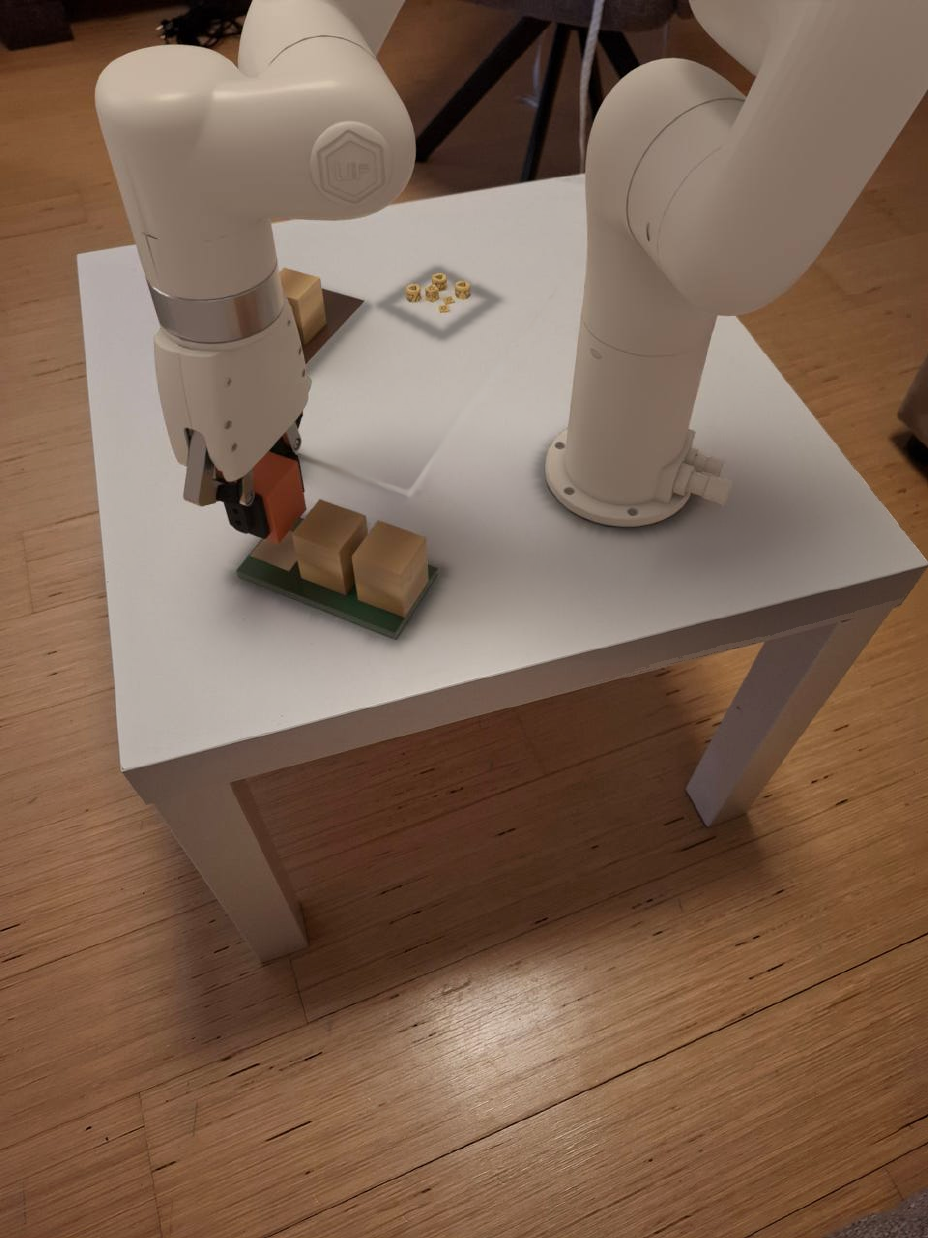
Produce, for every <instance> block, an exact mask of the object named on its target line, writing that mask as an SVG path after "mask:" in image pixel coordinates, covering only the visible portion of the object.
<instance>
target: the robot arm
mask: <svg viewBox="0 0 928 1238" xmlns="http://www.w3.org/2000/svg"><path fill="white" fill-rule="evenodd" d="M405 2H406V0H251V4H250V6H249V8H248V11H247V13H246V17H245V20H244V23H243V27H242V30H241V35H240V39H239V45H238V46H239V47H238V53H237V66H236V65H235V64H234V63H233V61H231V59H229V58H227V57H226V56H224V55H223V54H222V53H219V52H217V51H216V50H213V49H210V48H206V47H203V46H198V45H191V44H190V45H189V44H160V45H154V46H149V47H144V48H140V49H136V50H133V51H131V52H128V53H126V54H124V55H121V56H119V57H117V58H115V59H113V60H112V61H111V62H110V63H109V64H107V65H106V66H105V68H104V69H103V70H102V71H101V73H100V74H99V76H98V78H97V81H96V85H95V88H94V106H95V111H96V114H97V118H98V122H99V123H98V124H99V126H100V130H101V134H102V136H103V140H104V143H105V146H106V150H107V153H108V156H109V160H110V163H111V167H112V170H113V173H114V174H113V175H114V177H115V180H116V184H117V186H118V190H119V195H120V196H121V201H122V203H123V208H124V210H125V214H126V217H127V220H128V223H129V228H130V230H131V233H132V237H133V240H134V243H135V247H136V251H137V253H138V257H139V261H140V264H141V267H142V270H143V274H144V278H145V280H146V281H145V282H146V285H147V288H148V290H149V294H150V298H151V301H152V303H153V308H154V311H155V314H156V317H157V320H158V324H159V327H160V328H159V329H158V330H157V331H156V333H155V334H154V335H153V358H154V369H155V370H154V371H155V378H156V384H157V391H158V396H159V401H160V406H161V410H162V415H163V419H164V423H165V426H166V431H167V435H168V438H169V441H170V445H171V449H172V452H173V455H174V457H175V459H176V461H177V463H178V464H179V465H182V466H184V467H186V472H185V479H184V486H183V494H182V498H183V500H184V501H186V502H188V503H190V504H193V505H195V506H199V507H206V506H209V505H213V504H216V503H217V502H221V503H223V505H224V509H225V512H226V516H227V519H228V523H229V526H231V527H232V528H233V529H234V530H235V531H237V532H240V533H241V534H244V535H248V534H249V535H250V536H251V535H252V536H254V537H257V538H259V539H261V540H262V539H266V538H267V537H268V536H269V534H270V530H269V526H268V522H267V517H266V513H265V509H264V505H263V501H262V497H260V496H258V495H256V494H255V488H254V476H253V467H254V466H255V465H256V464H257V463H258V462H259V461H260V459H261V458H262V457H263V456H264V455H265V454H266V453H267V452H268V451H270V452H272V453H275V454H278V455H281V456H284V457H287V458H289V459H292V460H295V461H297V462H298V466H299V471H300V476H301V482H302V487H303V493H304V494H305V492H306V490H305V484H304V479H303V473H302V468H301V462H300V457H299V454H298V451H299V450H300V448H301V446H302V441H303V440H302V437H301V434H300V431H299V428H300V425H301V422H302V419H303V418H304V417H303V416H304V410H305V408H306V406H307V404H308V403H309V402H308V401H309V393H310V390H311V388H312V384H313V381H312V378H311V377H309V375H308V372H307V366H306V365H307V364H306V365H305V360H304V355H303V350H302V346H301V341H300V337H299V334H298V330H297V326H296V323H295V319H294V316H293V313H292V310H291V307H290V304H289V301H288V299H287V297H286V294H285V292H284V289H283V287H282V284H281V279H280V273H279V272H280V267H279V262H278V256H277V248H276V244H275V238H274V237H275V236H274V232H273V225H272V219H287V220H303V221H304V220H305V221H321V222H322V221H323V222H325V221H327V222H328V221H329V222H330V221H331V222H337V221H338V222H339V221H351V220H357V219H361V218H365V217H368V216H372V215H374V214H377V213H379V212H380V211H382V210H384V209H385V208H387V207H389V205H391V204H393V202H395V201H396V199H397V198H399V196H400V195H401V194H402V193H403V192H404V190H405V188H406V187H407V185H408V183H409V181H410V179H411V177H412V174H413V170H414V169H415V168H414V167H415V161H416V156H417V155H416V154H417V146H416V134H415V131H414V126H413V123H412V120H411V117H410V115H409V111H408V110H407V107H406V105H405V103H404V102H403V100H402V98H401V96H400V95H399V93H398V92H397V90H396V88H395V87H394V85H393V83H392V82H391V81H390V79H389V77H388V76H387V73H386V72H385V70H384V69H383V67H382V66H381V64H380V61H378V59H377V56H378V55H379V52H380V49H381V48H382V45H383V44H384V43H385V40H386V38H387V35H388V34H389V32H390V30H391V28H392V26H393V24H394V23H395V20H396V18H397V17H398V14H399V12H400V11H401V9H402V7H403V6H404V4H405ZM688 3H689V6H690V9H691V11H692V13H693V16H694V17H695V19H696V21H697V23H698V24H699V25H700V26H701V27H702V29H703V30H704V31H705V33H707V34H708V35H709V36H710V37H711V38H712V40H714V42H716V44H718V45H719V46H720V48H722V49H723V50H724V51H725V52H726V53H727V54H728V55H730V56H731V58H733V59H734V60H735V61H737V63H739V64H740V65H741V66H742V67H744V68H745V69H746V70H747V71H748V72H750V73H751V74H752V75H753V76H754V77H755V79H754V81H753V82H752V86H751V88H750V90H749V91H748V94H747V96H746V95H745V94H743V92H741V91H740V90H739V88H737V87H736V86H735V85H734V84H733V83H731V82H730V81H729V80H728V79H726V78H725V77H724V76H722V75H721V74H719V73H718V72H717V71H715V70H713V68H712V69H711V68H710V67H708V66H705V65H704V64H701V63H699V62H696V61H694V60H690V59H686V58H678V57H670V58H668V57H667V58H660V59H656V60H651V61H649V62H646V63H644V64H641V65H639V66H638V67H636V68H634V69H633V70H631V71H629V72H628V73H627V74H626V75H624V76H623V77H622V78H621V79H620V80H619V81H618V82H617V83H615V85H614V86H613V87H612V88H611V90H610V91H609V93H607V95H606V96H605V98H604V99H603V101H602V103H601V105H600V107H599V108H598V111H597V112H596V115H595V118H594V120H593V123H592V126H591V129H590V132H589V136H588V141H587V146H586V155H585V165H584V193H585V196H584V197H585V211H586V212H585V215H586V261H585V274H584V275H585V277H584V286H583V296H582V305H581V310H580V319H579V326H578V327H579V328H578V337H577V346H576V355H575V364H574V370H573V371H574V373H573V381H572V390H571V400H570V408H569V416H568V426H567V428H565V429H564V430H563V431H562V432H560V433H559V434H558V435H557V436H555V438H554V439H553V440H552V442H551V444H550V445H549V447H548V450H547V453H546V457H545V468H544V473H545V479H546V483H547V485H548V487H549V489H550V492H551V493H552V494H553V495H554V497H555V498H556V499H557V500H558V501H559V502H560V503H561V504H562V505H563V506H564V507H565V508H566V509H568V510H569V511H571V512H573V513H574V514H576V515H577V516H579V517H581V518H584V519H586V520H589V521H591V522H594V523H598V524H600V525H601V524H602V525H605V526H610V527H611V526H612V527H621V528H625V527H627V528H631V527H642V526H648V525H652V524H655V523H658V522H662V521H664V520H665V519H667V518H670V517H671V516H673V515H675V514H676V513H677V512H678V511H680V510H681V509H682V508H683V507H684V506H685V504H686V503H687V502H688V500H689V499H690V497H691V494H693V495H696V496H699V497H702V499H705V500H706V501H707V500H708V501H711V502H714V503H717V504H720V505H725V503H726V502H727V499H728V496H729V494H730V491H731V488H732V485H733V481H732V480H728V479H726V478H722V477H720V476H721V474H722V472H723V469H724V466H725V463H726V460H723V459H720V458H718V457H717V458H716V457H713V456H708V455H705V454H700V453H699V449H696V448H693V445H694V442H695V436H696V433H697V432H696V430H694V429H690V428H689V427H690V424H691V420H692V417H693V412H694V407H695V404H696V400H697V397H698V392H699V388H700V385H701V381H702V377H703V372H704V368H705V364H706V359H707V356H708V352H709V348H710V344H711V340H712V337H713V333H714V330H715V326H716V324H717V323H716V322H717V318H718V316H720V317H738V316H742V315H747V314H750V313H753V312H755V311H758V310H761V309H763V308H764V307H766V306H767V305H769V304H771V303H772V302H774V301H776V300H777V299H778V298H780V297H781V296H782V295H784V294H785V293H786V292H787V291H788V290H790V289H791V288H792V287H793V286H794V285H795V284H796V283H797V282H798V281H799V280H800V279H801V278H802V276H804V275H805V274H806V272H807V271H808V270H809V268H810V267H811V266H812V265H813V263H814V262H815V261H816V260H817V258H819V256H820V254H821V253H822V251H823V250H824V249H825V248H826V247H827V245H828V243H829V241H831V239H832V238H833V235H834V234H835V233H836V232H837V229H838V228H839V227H840V225H841V224H842V222H843V221H844V219H845V218H846V216H847V215H848V213H849V212H850V210H851V208H852V207H853V206H854V204H855V203H856V201H857V199H858V198H859V197H860V195H861V193H862V192H863V190H864V189H865V187H866V186H867V184H868V182H869V181H870V179H871V178H872V176H873V174H874V173H875V172H876V171H877V169H878V168H879V165H880V164H881V163H882V161H883V160H884V158H885V156H886V155H887V153H888V152H889V151H890V149H891V147H892V146H893V144H894V143H895V141H896V139H897V138H898V136H899V135H900V133H901V131H902V130H903V129H904V127H905V126H906V124H907V123H908V121H909V120H910V118H911V116H912V114H913V113H914V112H915V111H916V109H917V107H918V106H919V104H920V102H921V101H922V100H923V97H924V96H925V94H926V93H927V91H928V0H688ZM295 452H297V454H295ZM696 470H697V471H696ZM698 471H701V472H704V473H705V474H704V473H701V472H698ZM235 480H237V483H236V482H233V481H235Z"/></svg>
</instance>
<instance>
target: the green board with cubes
mask: <svg viewBox="0 0 928 1238" xmlns="http://www.w3.org/2000/svg"><path fill="white" fill-rule="evenodd" d="M367 520H368V519H367V515H365V514H363V513H360V512H359V511H354V510H352V509H349V508H347V507H343V506H341V505H338V504H335V503H333V502H329V501H327V500H324V499H322V498H319V499H318V500H317V502H316V503H315V504H314V506H313V507H312V508H311V509H310V510H309V512H308V513H307V514H306V515H305V517H304V518H303V517H302V516H301V517H300V518H299V520H298V521H297V522H296V523H295V525H294V526H293V527H292V528H291V530H290V531H289V532H288V533H287V534H286V536H285V537H284V538H283V539H282V541H281V542H280V543H279V544H277V543H274V542H272V541H269V540H266V539H262V538H261V540H260V541H258V543H257V544H256V546H255V547H254V548H253V549H252V550H251V551H250V553H249V554H248V555H247V556H246V558H245V559H244V560H243V562H242V563H240V565H239V566H238V567H237V569H236V570H235V573H236V575H237V577H238V578H240V579H242V580H245V581H248V582H250V583H252V584H254V585H257V586H259V587H262V588H265V589H268V590H270V591H273V592H275V593H278V594H280V595H283V596H285V597H288V598H290V599H293V600H296V601H298V602H300V603H303V604H305V605H308V606H310V607H313V608H315V609H318V610H321V611H323V612H326V613H328V614H331V615H333V616H336V617H338V618H341V619H343V620H346V621H348V622H351V623H353V624H356V625H359V626H361V627H363V628H366V629H368V630H371V631H374V632H376V633H378V634H381V635H384V636H387V637H388V638H391V639H395V640H396V639H397V638H398V637H399V635H400V633H401V632H402V630H403V629H404V627H405V626H406V624H408V623H407V622H408V621H409V619H410V618H411V616H412V615H413V613H414V612H415V610H416V609H417V608H418V606H419V604H420V602H421V601H422V599H423V598H424V597H425V595H426V593H427V592H428V591H429V588H430V587H431V585H432V584H433V583H434V581H435V579H436V578H437V576H438V575H439V571H438V567H437V566H434V565H432V564H429V559H428V542H427V537H426V536H424V535H421V534H419V533H416V532H413V531H410V530H407V529H405V528H402V527H399V526H396V525H394V524H391V523H388V522H385V521H382V520H379V519H378V520H377V521H376V522H375V524H374V525H373V527H372V528H371V529H370V530H369V529H368V528H369V527H368V521H367Z"/></svg>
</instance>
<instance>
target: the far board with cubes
mask: <svg viewBox="0 0 928 1238" xmlns="http://www.w3.org/2000/svg"><path fill="white" fill-rule="evenodd" d="M279 273H280V279H281V284H282V287H283V289H284V292H285V294H286V297H287V299H288V301H289V304H290V307H291V310H292V313H293V316H294V319H295V323H296V326H297V330H298V334H299V337H300V341H301V346H302V350H303V355H304V360H305V365H307V364H308V363H309V362H310V361H311V359H313V358H314V356H315V355H316V354H317V353H318V352H319V351H320V350H321V349H322V347H324V346H325V344H327V342H329V340H330V339H332V337H333V336H334V335H335V334H336V333H337V332H338V331H339V330H340V328H342V326H344V324H345V323H346V322H347V321H348V319H350V318H351V316H352V315H353V314H354V313H356V311H357V310H358V309H359V308H360V307H361V306H362V305H363V304H364V302H365V300H364V299H361V298H359V297H358V298H357V297H355V296H354V297H353V296H350V295H346V294H344V293H340V292H337V291H333V290H330V289H326V288H323V287H322V281H321V277H320V276H316V275H313V274H310V273H305V272H302V271H298V270H295V269H291V268H287V267H283V268H282V269H281V270H279Z"/></svg>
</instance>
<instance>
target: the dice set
mask: <svg viewBox="0 0 928 1238" xmlns="http://www.w3.org/2000/svg"><path fill="white" fill-rule="evenodd" d="M431 276H432V277H431V285H428V286H426V287H425V288H424V291H425V294H424V295H425V300H426V301H429V302H432V303H435V302H436V301H437V300H438V299H439V298H440V293H439V292H443V291H446V289H447V287H448V278H447V275H446V274H445V273H442V272H437V273H434V274H433V275H431ZM421 289H422V288H421V286H420V285H419V284H417V283H410V284H407V285H406V287H405V298H406V299H405V300H407V301H408V303H409V302H410V303H417V302H420V301H421V299H422V291H421ZM454 296H455V297H456V298H457V299H459V300H465V299H469V297H470V296H471V284H470V283H469V281H466V280H459V281H457V282H456V283H455V284H454ZM442 301H443V302H444V304H440V305H438V311H439V313H440V314H442V313H443V314H444V313H450V307H449V305H451V304H455V303H456V301H455V299H454V297H453V296H452V295H450V296H449V295H448V296H444V297H442Z"/></svg>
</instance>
